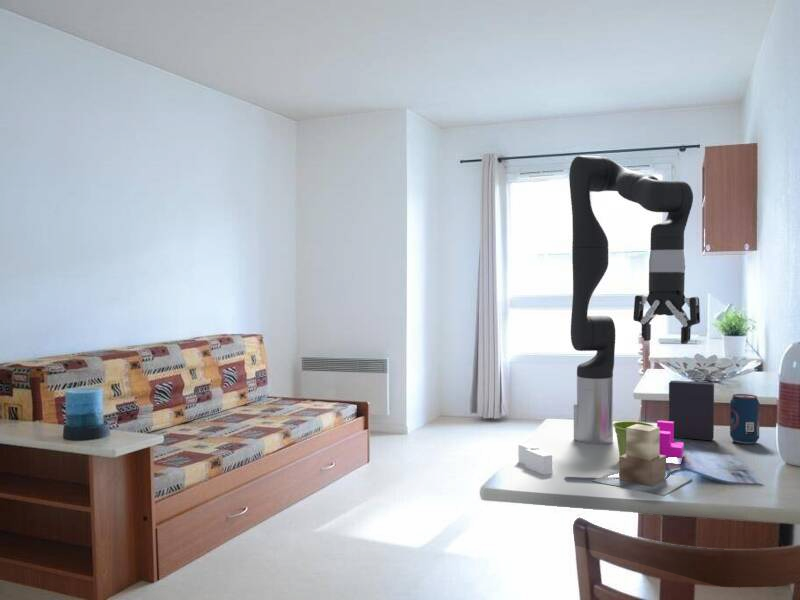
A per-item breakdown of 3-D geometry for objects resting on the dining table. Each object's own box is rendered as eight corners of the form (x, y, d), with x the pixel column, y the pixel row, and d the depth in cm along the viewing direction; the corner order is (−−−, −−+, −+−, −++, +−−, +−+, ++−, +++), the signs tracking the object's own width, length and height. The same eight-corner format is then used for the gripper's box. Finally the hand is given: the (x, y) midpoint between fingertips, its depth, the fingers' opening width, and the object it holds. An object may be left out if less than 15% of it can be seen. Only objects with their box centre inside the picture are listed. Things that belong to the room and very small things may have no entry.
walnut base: (592, 485, 146) (592, 456, 146) (624, 470, 157) (624, 444, 157) (664, 500, 136) (664, 469, 136) (692, 483, 147) (692, 455, 147)
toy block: (681, 467, 160) (681, 434, 160) (652, 464, 163) (652, 432, 163) (684, 452, 174) (684, 422, 174) (657, 450, 177) (657, 420, 176)
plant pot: (661, 461, 165) (661, 424, 164) (644, 469, 158) (644, 431, 158) (624, 454, 171) (624, 419, 171) (605, 462, 164) (605, 425, 164)
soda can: (726, 437, 188) (726, 393, 188) (753, 438, 188) (753, 393, 187) (735, 443, 181) (736, 397, 181) (763, 444, 181) (764, 398, 180)
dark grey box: (713, 437, 188) (714, 382, 188) (712, 441, 185) (713, 384, 184) (670, 434, 193) (670, 379, 193) (668, 437, 190) (668, 382, 189)
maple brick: (626, 456, 146) (626, 427, 146) (636, 451, 150) (636, 423, 150) (649, 460, 143) (649, 431, 143) (659, 455, 147) (659, 427, 146)
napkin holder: (560, 483, 149) (560, 457, 149) (507, 480, 152) (506, 454, 152) (562, 465, 164) (562, 441, 164) (513, 462, 167) (513, 438, 167)
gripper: (629, 270, 159) (628, 341, 160) (692, 270, 150) (691, 346, 151) (643, 269, 165) (642, 338, 166) (705, 270, 155) (703, 343, 156)
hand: (665, 342), depth 158 cm, fingers open, 8 cm apart
